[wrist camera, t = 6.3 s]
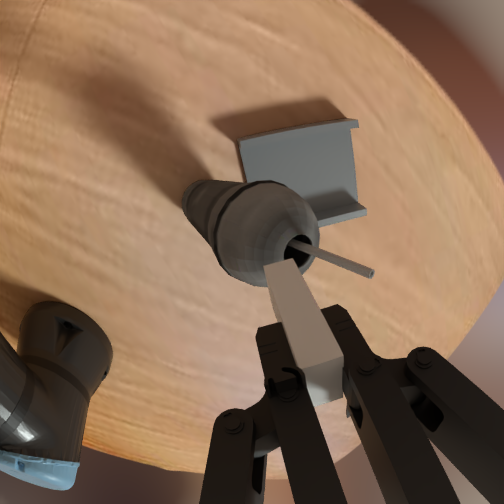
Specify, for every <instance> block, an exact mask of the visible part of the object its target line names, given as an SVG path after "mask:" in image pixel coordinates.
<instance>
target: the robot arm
mask: <svg viewBox="0 0 504 504" xmlns="http://www.w3.org/2000/svg"><path fill="white" fill-rule="evenodd" d="M263 267H264V271H265V276H266V280H267V284H268V289H269V293H270V297H271V302H272V306H273V310H274V313H275V316H276V319H277V322H278V323H274V324H271V325H267V326H263V327H259V328H258V330H257V334H256V337H255V338H256V342H257V347H258V351H259V355H260V360H261V364H262V368H263V373H264V377H265V379H264V386H265V389H266V392H265V394H264V396H263V398H262V399H261V400H260V401H259V402H257V403H256V404H255V405H253V406H251V407H249V408H247V409H246V410H243V409H237V408H234V409H228V410H226V411H224V412H222V413H221V414H220V415H219V416H218V417H217V418H216V420H215V423H214V426H213V432H212V437H211V442H210V448H209V453H208V458H207V464H206V469H205V475H204V480H203V486H202V491H201V497H200V502H199V504H263V502H264V491H265V478H266V465H267V453H269V452H271V451H273V450H274V449H276V448H278V447H281V451H282V455H283V459H284V463H285V467H286V471H287V475H288V479H289V483H290V486H291V490H292V494H293V498H294V502H295V504H347V501H346V498H345V495H344V492H343V489H342V487H341V483H340V480H339V478H338V475H337V472H336V469H335V466H334V463H333V460H332V457H331V455H330V452H329V449H328V446H327V443H326V440H325V437H324V435H323V432H322V429H321V426H320V423H319V420H318V418H317V415H316V412H315V409H314V407H315V406H318V405H322V404H325V403H328V402H331V401H334V400H337V399H340V398H343V392H344V394H345V397H346V399H347V408H346V415H347V418H348V417H350V416H351V418H352V421H353V423H354V426H355V428H356V430H357V433H358V435H359V437H360V440H361V442H362V444H363V447H364V450H365V452H366V454H367V457H368V459H369V462H370V464H371V467H372V469H373V472H374V474H375V476H376V479H377V481H378V484H379V487H380V489H381V491H382V494H383V497H384V499H385V502H386V504H460V501H459V499H458V497H457V495H456V493H455V491H454V489H453V487H452V485H451V482H450V480H449V478H448V476H447V475H446V472H445V471H444V468H443V466H442V465H441V462H440V461H439V458H438V457H437V455H436V453H435V451H434V449H433V447H432V445H431V443H430V441H429V439H430V440H431V441H432V442H433V444H434V445H435V446H436V447H437V448H438V449H439V450H440V451H441V452H442V453H443V454H444V455H445V456H446V457H447V458H448V459H449V460H450V461H451V463H452V464H454V466H455V467H456V468H457V469H458V470H459V471H460V472H461V473H462V474H463V475H464V476H465V477H466V478H467V479H468V480H469V482H470V483H471V484H472V485H473V486H474V487H475V488H476V489H477V490H478V491H479V492H480V493H481V494H482V495H483V496H484V497H485V498H486V499H487V500H488V501H489V503H490V504H504V410H503V409H502V408H501V407H500V406H499V405H498V404H496V403H495V402H494V401H493V400H492V399H491V398H490V397H488V395H486V394H485V393H484V392H483V391H482V390H481V389H479V388H478V387H477V386H476V385H475V384H474V383H473V382H471V381H470V380H469V379H468V378H467V377H466V376H464V375H463V374H462V373H461V372H460V371H459V370H458V369H456V368H455V367H454V366H453V365H452V364H451V363H449V362H448V361H447V360H446V359H445V358H443V357H442V356H441V355H440V354H439V353H437V352H436V351H435V350H433V349H431V348H428V347H417V348H415V349H413V350H412V351H411V352H410V353H409V354H408V357H407V358H399V359H384V358H381V357H380V356H378V355H376V354H374V353H373V352H372V351H371V349H370V348H369V346H368V344H367V343H366V341H365V339H364V338H363V336H362V334H361V333H360V331H359V329H358V328H357V327H356V324H355V323H354V321H353V320H352V318H351V316H350V315H349V313H348V312H347V310H346V309H344V308H343V307H341V306H340V305H338V304H336V305H333V306H330V307H327V308H323V309H320V308H319V306H318V304H317V303H316V301H315V299H314V297H313V295H312V293H311V291H310V289H309V287H308V286H307V284H306V282H305V280H304V278H303V276H302V274H301V273H300V271H299V269H298V267H297V265H296V263H295V261H294V260H293V258H291V259H288V260H284V261H280V262H276V263H273V264H269V265H265V266H263ZM112 358H113V351H112V346H111V343H110V341H109V339H108V337H107V336H106V334H105V333H104V331H103V330H102V329H101V328H100V327H99V326H98V325H97V324H96V323H95V322H94V321H93V320H92V319H91V318H89V317H88V316H87V315H85V314H84V313H82V312H81V311H79V310H77V309H75V308H73V307H71V306H68V305H65V304H62V303H57V302H41V303H38V304H35V305H34V306H32V307H31V308H30V309H29V310H28V312H27V313H26V315H25V317H24V318H23V320H22V322H21V325H20V333H19V339H18V345H17V353H16V351H15V350H14V349H13V348H12V346H11V345H10V344H9V342H8V341H7V340H6V339H5V337H4V336H3V335H2V333H1V332H0V470H1V471H3V472H5V473H7V474H9V475H11V476H14V477H16V478H18V479H21V480H24V481H26V482H29V483H32V484H35V485H39V486H42V487H46V488H50V489H55V490H67V489H69V488H71V487H72V486H73V484H74V482H75V477H76V472H77V467H79V460H80V453H81V446H82V440H83V434H84V428H85V422H86V417H87V412H88V407H89V402H90V398H91V397H92V395H93V394H94V393H95V391H96V390H97V388H98V387H99V385H100V384H101V382H102V381H103V380H104V379H105V377H106V376H107V375H108V373H109V370H110V367H111V362H112ZM428 438H429V439H428Z"/></svg>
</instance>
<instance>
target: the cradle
mask: <svg viewBox="0 0 504 504" xmlns="http://www.w3.org/2000/svg"><path fill="white" fill-rule="evenodd" d="M351 128H359V124H358V120H356V119H349V118H344V119H337V120H330V121H323V122H317V123H311V124H305V125H299V126H294V127H288V128H283V129H278V130H273V131H268V132H264V133H259V134H254V135H250V136H246V137H241V138H237V141H238V146H239V150H240V154H241V158H242V163H243V167H244V171H245V175H246V180H247V183H249V182H255V181H262V180H273V181H276V182H279V183H282V184H284V185H286V186H287V187H288V188H290V189H292V190H293V191H295V192H296V193H297V194H299V195H300V196H301V197H302V198H303V199H304V200H305V201H306V202H307V203H308V204H309V205H310V207H311V209H312V211H313V213H314V214H315V216H316V218H317V221H318V227H323V226H327V225H331V224H335V223H339V222H342V221H346V220H350V219H354V218H358V217H362V216H366V215H367V209H366V208H365V207H364V206H362V205H361V204H360V203H358V196H357V184H356V173H355V164H354V155H353V147H352V139H351V131H350V129H351Z"/></svg>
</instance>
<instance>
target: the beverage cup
mask: <svg viewBox="0 0 504 504" xmlns="http://www.w3.org/2000/svg"><path fill="white" fill-rule="evenodd" d="M182 209H183V212H184V214H185V216H186V217H187V219H188V220H189V221H190V223H191V224H192V225H193V226H194V227H195V228H196V230H197V231H198V232H199V233H200V234H201V235H202V237H203V238H204V239H205V240H206V241H207V242H208V244H209V245H210V246H211V247H212V250H213V252H214V254H215V256H216V258H217V260H218V262H219V265H220V266H221V267H222V268H223V269H224V270H225V271H226V272H227V273H228V275H230V276H232V277H234V278H236V279H238V280H240V281H243V282H246V283H248V284H250V285H253V286H258V287H268V284H267V280H266V276H265V271H264V267H263V266H265V265H269V264H273V263H276V262H280V261H284V260H288V259H291V258H293V260H294V261H295V263H296V265H297V267H298V269H299V271H300V273H301V274H302V275H303V274H304V272H305V271H306V270H307V269H308V268H309V267H310V265H311V264H312V262H313V260H314V259H315V257H318V258H320V259H323V260H325V261H328V262H330V263H333V264H335V265H337V266H340V267H342V268H345V269H347V270H350V271H352V272H355V273H357V274H359V275H362V276H364V277H367V278H369V279H372V277H373V276H374V273H375V271H374V269H371V268H368V267H366V266H363V265H361V264H358V263H356V262H353V261H351V260H348V259H345V258H343V257H340V256H338V255H335V254H333V253H330V252H327V251H325V250H322V249H319V239H320V233H319V227H318V221H317V218H316V216H315V214H314V213H313V211H312V209H311V207H310V205H309V204H308V203H307V202H306V201H305V200H304V199H303V198H302V197H301V196H300V195H299V194H297V193H296V192H295V191H293V190H292V189H290V188H288V187H287V186H286V185H284V184H282V183H279V182H276V181H273V180H262V181H255V182H249V183H241V182H231V181H219V180H201V181H197V182H195V183H193V184H192V185H190V186H189V187H188V188H187V190H186V191H185V193H184V195H183V198H182Z"/></svg>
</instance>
